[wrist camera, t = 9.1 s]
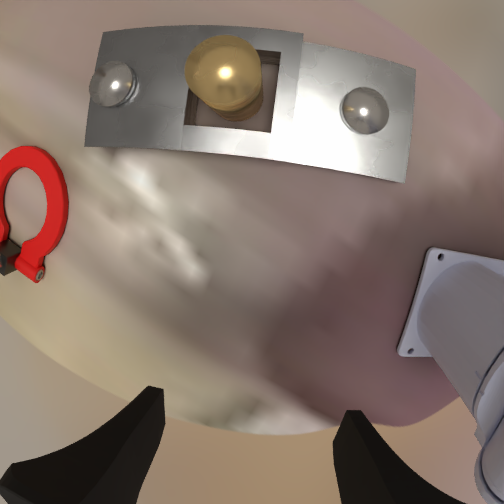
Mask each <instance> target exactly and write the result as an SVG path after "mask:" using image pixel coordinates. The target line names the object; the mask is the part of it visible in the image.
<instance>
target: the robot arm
mask: <svg viewBox="0 0 504 504" xmlns="http://www.w3.org/2000/svg"><path fill="white" fill-rule="evenodd" d="M439 254H441V258H440V259H438V255H439ZM410 348H412V349H411V350H410V351H408V350H409V349H410ZM397 352H398V354H399V355H400V356H402V357H433V358H434V360H435V361H436V362H437V364H438V365H439V367H440V368H441V369H442V371H443V372H444V374H445V375H446V377H447V378H448V379H449V381H450V382H451V384H452V385H453V387H454V388H455V390H456V391H457V393H458V394H459V396H460V397H461V398H462V400H463V402H464V403H465V405H466V406H467V408H468V409H469V410H470V412H471V414H472V415H473V417H474V418H475V420H476V422H477V429H476V432H475V434H474V435H475V436H476V438H477V440H478V441H479V443H480V445H481V446H482V449H481V451H480V452H479V454H478V457H477V459H476V463H475V470H474V476H475V482H476V485H477V488H478V491H479V493H480V494H481V496H482V497H483V499H484V500H485V501H486V502H487V503H488V504H504V260H500V259H494V258H489V257H484V256H479V255H474V254H468V253H463V252H458V251H452V250H447V249H441V248H436V247H432V248H430V249H429V250H428V251H427V254H426V257H425V261H424V265H423V269H422V273H421V276H420V280H419V284H418V287H417V291H416V294H415V297H414V301H413V304H412V307H411V310H410V313H409V316H408V319H407V322H406V325H405V328H404V331H403V334H402V337H401V340H400V343H399V345H398V348H397ZM164 426H165V409H164V390H163V389H161V388H157V387H152V386H148V387H146V388H145V389H144V390H143V391H142V392H141V393H140V394H139V395H138V396H137V397H136V398H135V399H134V400H133V401H131V402H130V403H129V404H128V405H127V406H126V407H125V408H124V409H122V410H121V411H120V412H119V413H118V414H117V415H115V416H114V417H113V418H112V419H110V420H109V421H108V422H106V423H105V424H104V425H102V426H101V427H100V428H98V429H97V430H95V431H94V432H92V433H91V434H89V435H88V436H86V437H84V438H83V439H81V440H79V441H77V442H75V443H73V444H71V445H69V446H67V447H65V448H63V449H60V450H58V451H55V452H52V453H50V454H47V455H44V456H41V457H38V458H35V459H31V460H26V461H22V462H17V463H12V464H11V466H10V467H9V468H8V469H7V471H6V472H5V473H4V475H3V477H2V478H1V479H0V495H1V496H2V497H3V498H4V499H5V501H6V502H7V503H8V504H136V502H137V498H138V495H139V492H140V489H141V487H142V484H143V482H144V479H145V477H146V474H147V472H148V470H149V468H150V465H151V463H152V461H153V458H154V456H155V454H156V451H157V449H158V447H159V444H160V441H161V437H162V434H163V430H164ZM333 457H334V467H335V472H336V477H337V482H338V487H339V493H340V498H341V503H342V504H466V503H463V502H461V501H459V500H456V499H454V498H453V497H451V496H449V495H447V494H445V493H444V492H442V491H440V490H438V489H437V488H435V487H434V486H432V485H431V484H429V483H428V482H427V481H425V480H424V479H423V478H422V477H420V476H419V475H418V474H417V473H416V472H414V471H413V470H412V469H411V468H410V467H409V466H408V465H406V464H405V463H404V462H403V461H402V460H401V458H399V456H398V455H397V454H395V452H394V451H393V450H392V449H391V448H390V447H389V445H388V444H387V443H386V442H385V441H384V440H383V438H382V437H381V436H380V435H379V433H378V432H377V431H376V429H375V428H374V427H373V426H372V424H371V423H370V422H369V420H368V419H367V418H366V416H365V415H364V414H363V413H362V411H361V410H347V411H346V413H345V415H344V418H343V420H342V422H341V425H340V427H339V429H338V432H337V434H336V436H335V439H334V440H333Z"/></svg>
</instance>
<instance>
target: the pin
mask: <svg viewBox="0 0 504 504" xmlns="http://www.w3.org/2000/svg"><path fill="white" fill-rule="evenodd" d="M185 79H186V82H187V84H188V86H189V88H190V89H191V91H192V92H193V93H194V94H195V95H196V96H198V97H199V98H200V99H201V100H202V101H203V102H204V103H206V104H207V105H208V106H209V107H210V108H211V109H212V110H214V111H215V112H216V113H217V114H218V115H219V116H220V117H222V118H224V119H226V120H229V121H244V120H247V119H249V118H251V117H252V116H254V115H255V114H256V113H257V112H258V110H259V109H260V107H261V105H262V103H263V85H262V73H261V62H260V58H259V55H258V53H257V51H256V50H255V49H254V47H253V46H252V45H251V44H250V43H248V42H247V41H246V40H244V39H242V38H239V37H236V36H231V35H219V36H214V37H211V38H208V39H206V40H204V41H203V42H201V43H200V44H198V45H197V46H196V47H195V48H194V49H193V50H192V52H191V53H190V54H189V56H188V58H187V61H186V64H185Z"/></svg>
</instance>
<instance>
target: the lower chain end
mask: <svg viewBox="0 0 504 504" xmlns="http://www.w3.org/2000/svg"><path fill="white" fill-rule="evenodd" d="M259 58H260V62H261V63H266V64H274V65H280V59H277V58H268V57H259ZM415 77H416V69H413V68H410V67H407V66H404V65H401V64H398V63H395V62H391V61H388V60H384V59H381V58H377V57H373V56H370V55H366V54H362V53H358V52H353V51H349V50H345V49H340V48H335V47H330V46H325V45H320V44H314V43H308V42H303V43H302V52H301V61H300V70H299V78H298V87H297V95H296V103H295V111H294V119H293V127H292V135H291V143H290V150H289V158H288V162H291V163H297V164H304V165H310V166H316V167H322V168H328V169H334V170H340V171H345V172H350V173H356V174H361V175H366V176H371V177H376V178H380V179H385V180H390V181H394V182H399V183H404V184H405V178H406V171H407V164H408V156H409V149H410V140H411V131H412V121H413V109H414V95H415ZM197 103H198V96H196V95H195V94H193V101H192V108H191V116H190V123H189V125H191V126H195V118H196V110H197ZM181 151H183V150H181ZM194 152H196V151H194ZM206 153H208V152H206ZM216 154H218V153H216ZM226 155H228V154H226ZM236 156H237V155H236ZM245 157H246V156H245ZM253 158H255V157H253ZM261 159H263V158H261ZM269 160H270V159H269ZM277 161H278V160H277ZM284 162H285V161H284Z"/></svg>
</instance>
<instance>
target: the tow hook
mask: <svg viewBox="0 0 504 504" xmlns="http://www.w3.org/2000/svg"><path fill="white" fill-rule="evenodd" d="M22 167H28V168H30V169H31V170H33V171H34V172H35V173H36V174H37V175H38V176H39V177H40V179H41V181H42V183H43V185H44V188H45V192H46V197H47V215H46V219H45V223H44V225H43V227H42V229H41V231H40V233H39V234H38V235H37V236H36V237H35V238H33V239H31V240H27V241H24V243H23V244H22V249H20V248H19V247H18V246H16V245H15V244H14V243H12V242H11V241H10V240H7V236H8V231H9V225H8V223H7V221H6V218H5V214H4V208H3V195H4V190H5V186H6V184H7V182H8V180H9V178H10V177H11V175H12V174H13V173H14V172H15V171H16V170H18V169H19V168H22ZM67 216H68V194H67V186H66V183H65V180H64V177H63V173H62V171H61V169H60V167H59V166H58V164H57V162H56V161H55V159H54V158H53V157H52V156H51V155H50V154H49V153H47V152H46V151H45V150H42V149H40V148H38V147H33V146H20V147H17V148H15V149H12V150H10V151H9V152H8V153H7V154H6V155H4V156H3V157H2V159H1V160H0V273H1V274H2V275H3V276H5V275H7V274H9V273H11V272H13V271H15V270H19V271H20V272H21V273H23V274H24V275H25V276H27V277H28V278H29V279H31V280H32V281H33V282H35V283H38V282H39V281H40V280H41V279H42V277H43V275H44V272H45V268H44V267H43V266H42V263H43V259H44V256H45V255H47V254H49V253H50V252H51V251H52V250H53V249H54V248H55V247H56V246H57V244H58V242H59V240H60V239H61V237H62V235H63V233H64V229H65V225H66V222H67Z"/></svg>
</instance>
